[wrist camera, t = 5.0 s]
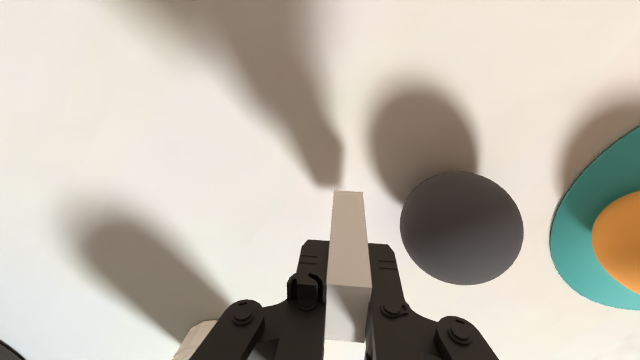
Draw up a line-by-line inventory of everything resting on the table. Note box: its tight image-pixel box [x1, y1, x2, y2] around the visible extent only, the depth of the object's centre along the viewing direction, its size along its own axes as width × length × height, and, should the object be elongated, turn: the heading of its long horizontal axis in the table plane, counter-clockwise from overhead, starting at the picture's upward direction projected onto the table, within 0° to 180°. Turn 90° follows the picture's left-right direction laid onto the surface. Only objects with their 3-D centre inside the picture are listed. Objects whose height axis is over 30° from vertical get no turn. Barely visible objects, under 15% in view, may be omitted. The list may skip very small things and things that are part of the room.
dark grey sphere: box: [400, 172, 524, 285], centre depth 15 cm, size 6×6×6 cm
